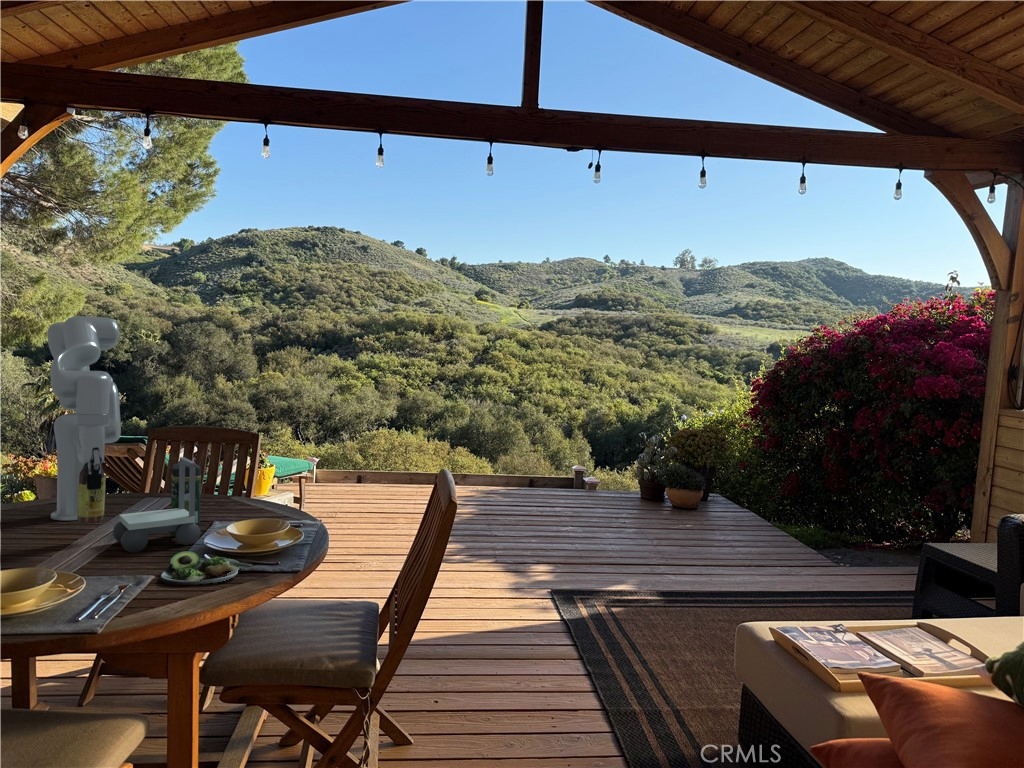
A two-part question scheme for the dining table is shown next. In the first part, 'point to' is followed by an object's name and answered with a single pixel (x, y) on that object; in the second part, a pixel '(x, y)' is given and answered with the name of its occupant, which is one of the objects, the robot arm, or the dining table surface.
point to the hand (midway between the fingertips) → (91, 485)
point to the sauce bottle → (90, 499)
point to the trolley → (162, 518)
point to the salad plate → (198, 569)
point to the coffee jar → (176, 489)
